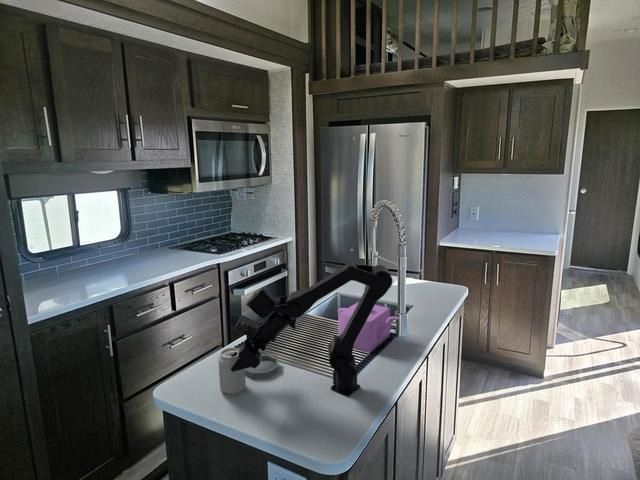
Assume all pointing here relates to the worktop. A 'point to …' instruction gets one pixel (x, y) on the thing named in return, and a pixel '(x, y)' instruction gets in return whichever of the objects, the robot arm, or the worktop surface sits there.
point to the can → (230, 372)
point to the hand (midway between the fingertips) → (235, 362)
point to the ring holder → (264, 368)
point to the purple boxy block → (368, 326)
